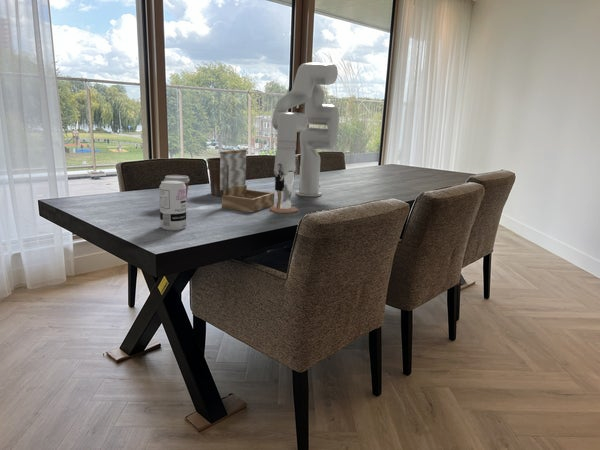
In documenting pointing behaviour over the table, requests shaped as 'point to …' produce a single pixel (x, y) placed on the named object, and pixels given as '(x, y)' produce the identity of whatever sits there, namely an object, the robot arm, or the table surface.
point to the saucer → (283, 210)
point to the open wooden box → (239, 184)
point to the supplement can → (172, 205)
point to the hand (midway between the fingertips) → (284, 189)
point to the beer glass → (286, 192)
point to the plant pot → (215, 176)
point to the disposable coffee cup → (179, 179)
